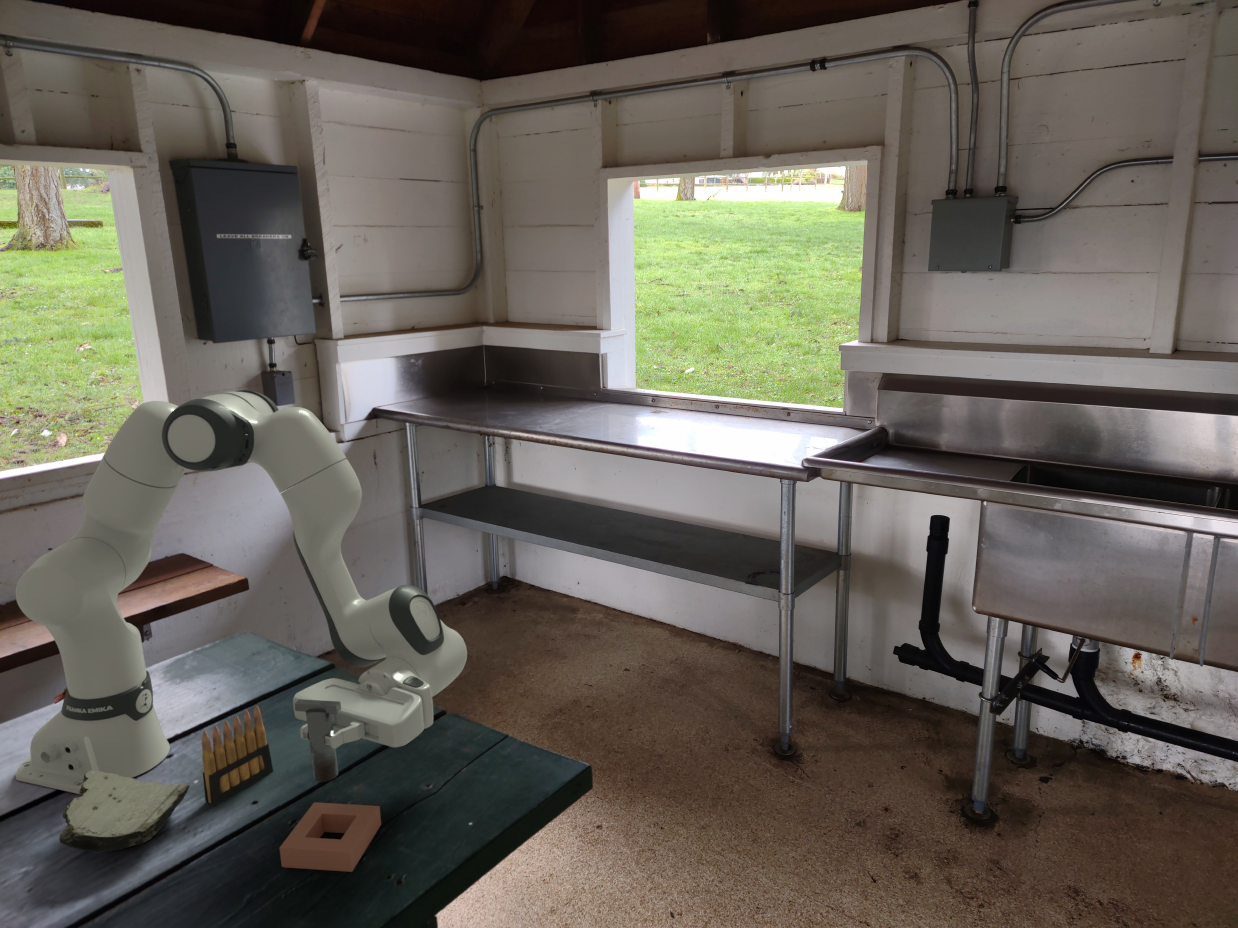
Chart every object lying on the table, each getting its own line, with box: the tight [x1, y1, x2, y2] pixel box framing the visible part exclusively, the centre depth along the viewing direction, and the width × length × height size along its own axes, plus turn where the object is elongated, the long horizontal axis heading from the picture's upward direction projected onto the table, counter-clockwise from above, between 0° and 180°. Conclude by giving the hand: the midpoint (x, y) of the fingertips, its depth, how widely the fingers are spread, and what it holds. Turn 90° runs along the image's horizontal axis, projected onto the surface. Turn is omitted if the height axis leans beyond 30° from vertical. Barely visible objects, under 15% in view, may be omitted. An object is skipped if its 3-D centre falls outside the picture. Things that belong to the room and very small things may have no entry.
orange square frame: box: [278, 801, 382, 873], centre depth 119 cm, size 10×10×3 cm
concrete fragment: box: [59, 770, 191, 853], centre depth 121 cm, size 15×10×15 cm
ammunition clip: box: [201, 704, 274, 807], centre depth 132 cm, size 11×2×12 cm, turn 148°
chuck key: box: [295, 699, 341, 783], centre depth 116 cm, size 6×3×11 cm, turn 81°
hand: (316, 738), depth 115 cm, fingers closed on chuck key, 3 cm apart
